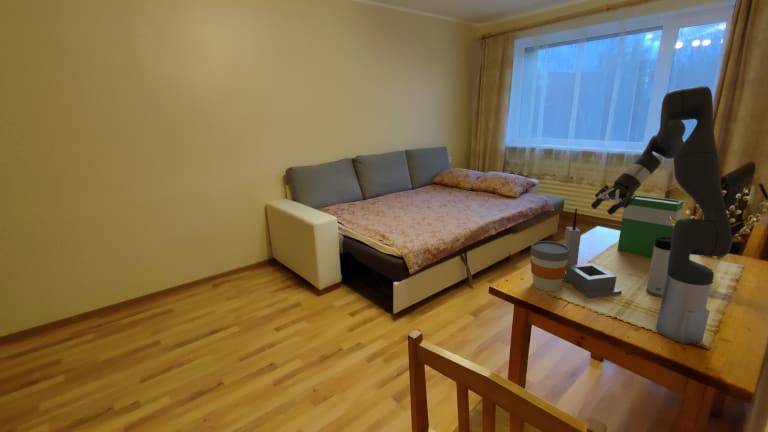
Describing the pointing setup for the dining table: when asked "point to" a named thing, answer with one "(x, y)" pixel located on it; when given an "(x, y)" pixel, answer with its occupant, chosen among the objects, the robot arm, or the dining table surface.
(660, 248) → the travel mug
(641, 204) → the hardback book
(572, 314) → the dining table surface
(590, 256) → the dining table surface
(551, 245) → the reusable coffee cup
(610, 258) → the dining table surface
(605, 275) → the box
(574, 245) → the vintage mobile phone
